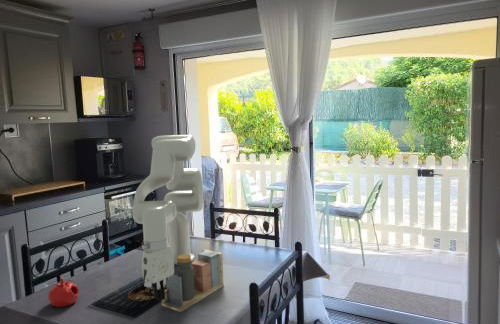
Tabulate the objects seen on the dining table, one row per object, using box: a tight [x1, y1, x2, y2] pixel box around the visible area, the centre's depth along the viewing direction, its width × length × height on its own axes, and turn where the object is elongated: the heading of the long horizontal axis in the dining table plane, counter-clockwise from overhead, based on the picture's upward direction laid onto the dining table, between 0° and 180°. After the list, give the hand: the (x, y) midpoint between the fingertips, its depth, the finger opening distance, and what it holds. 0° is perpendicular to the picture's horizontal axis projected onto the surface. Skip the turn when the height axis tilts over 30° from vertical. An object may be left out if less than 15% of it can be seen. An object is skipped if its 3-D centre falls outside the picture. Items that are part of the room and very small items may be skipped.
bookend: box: [164, 274, 183, 308], centre depth 129 cm, size 6×2×10 cm, turn 56°
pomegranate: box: [47, 277, 80, 308], centre depth 135 cm, size 10×10×9 cm
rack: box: [161, 248, 225, 313], centre depth 137 cm, size 9×23×13 cm, turn 146°
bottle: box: [175, 254, 194, 301], centre depth 134 cm, size 6×6×15 cm
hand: (159, 298), depth 124 cm, fingers closed
